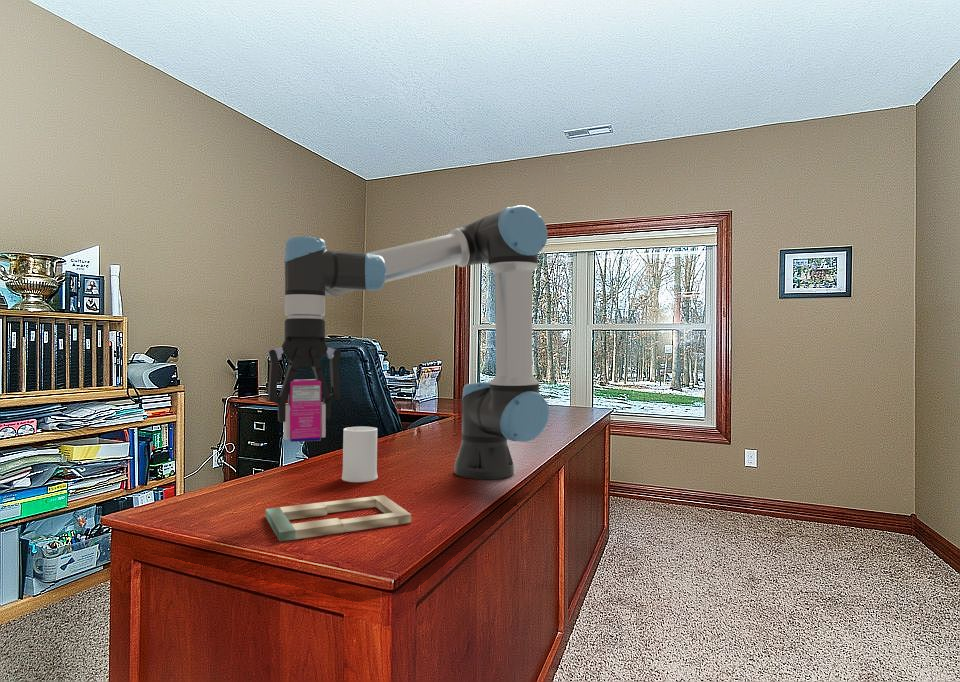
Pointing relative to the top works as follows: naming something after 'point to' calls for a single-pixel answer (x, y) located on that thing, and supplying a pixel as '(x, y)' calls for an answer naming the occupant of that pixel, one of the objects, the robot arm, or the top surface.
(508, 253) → the robot arm
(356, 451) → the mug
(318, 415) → the supplement box
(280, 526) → the cream and green frame
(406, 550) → the top surface
